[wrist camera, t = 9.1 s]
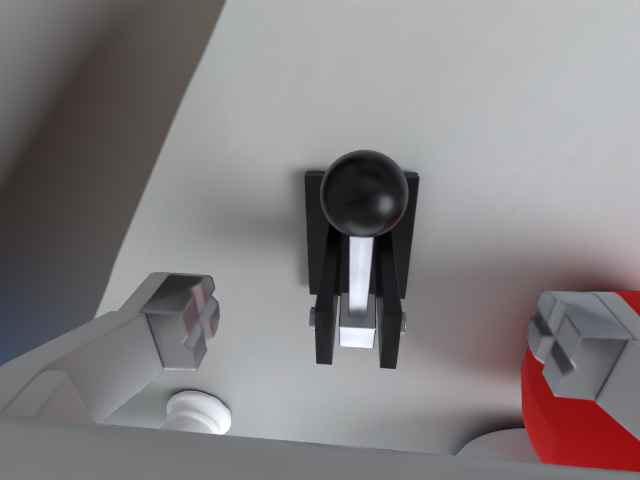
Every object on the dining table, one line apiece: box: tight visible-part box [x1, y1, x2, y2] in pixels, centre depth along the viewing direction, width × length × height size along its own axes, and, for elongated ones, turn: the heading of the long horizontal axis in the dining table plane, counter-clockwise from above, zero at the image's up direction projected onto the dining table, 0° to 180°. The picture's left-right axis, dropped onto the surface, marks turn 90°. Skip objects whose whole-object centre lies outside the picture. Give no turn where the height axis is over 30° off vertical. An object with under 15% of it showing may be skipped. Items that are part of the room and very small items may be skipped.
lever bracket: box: [305, 171, 419, 369], centre depth 28 cm, size 12×9×13 cm
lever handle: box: [320, 150, 408, 348], centre depth 19 cm, size 14×4×4 cm, turn 1°
